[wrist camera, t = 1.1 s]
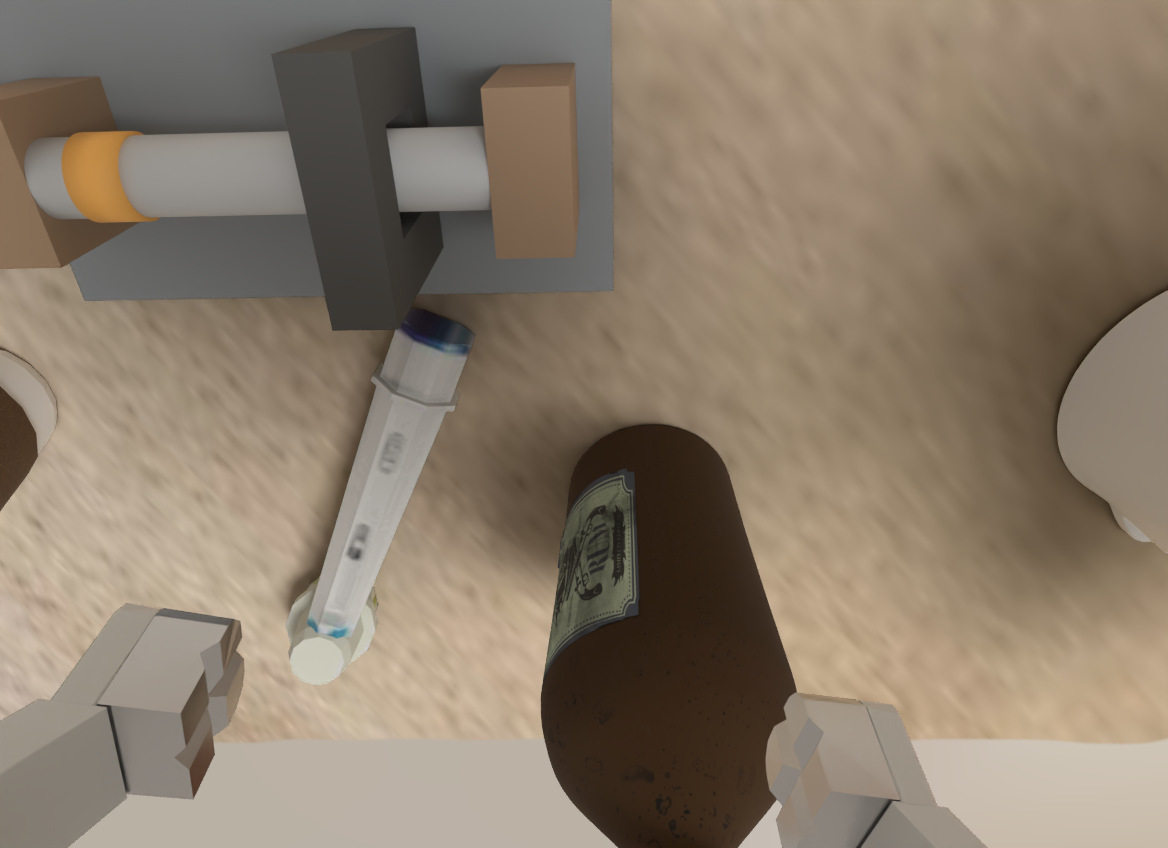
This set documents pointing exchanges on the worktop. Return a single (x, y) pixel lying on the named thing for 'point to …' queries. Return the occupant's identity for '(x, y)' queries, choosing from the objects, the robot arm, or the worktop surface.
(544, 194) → the pipe stand
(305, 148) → the collar
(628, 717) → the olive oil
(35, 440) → the coffee cup
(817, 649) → the worktop surface
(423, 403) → the electric toothbrush
